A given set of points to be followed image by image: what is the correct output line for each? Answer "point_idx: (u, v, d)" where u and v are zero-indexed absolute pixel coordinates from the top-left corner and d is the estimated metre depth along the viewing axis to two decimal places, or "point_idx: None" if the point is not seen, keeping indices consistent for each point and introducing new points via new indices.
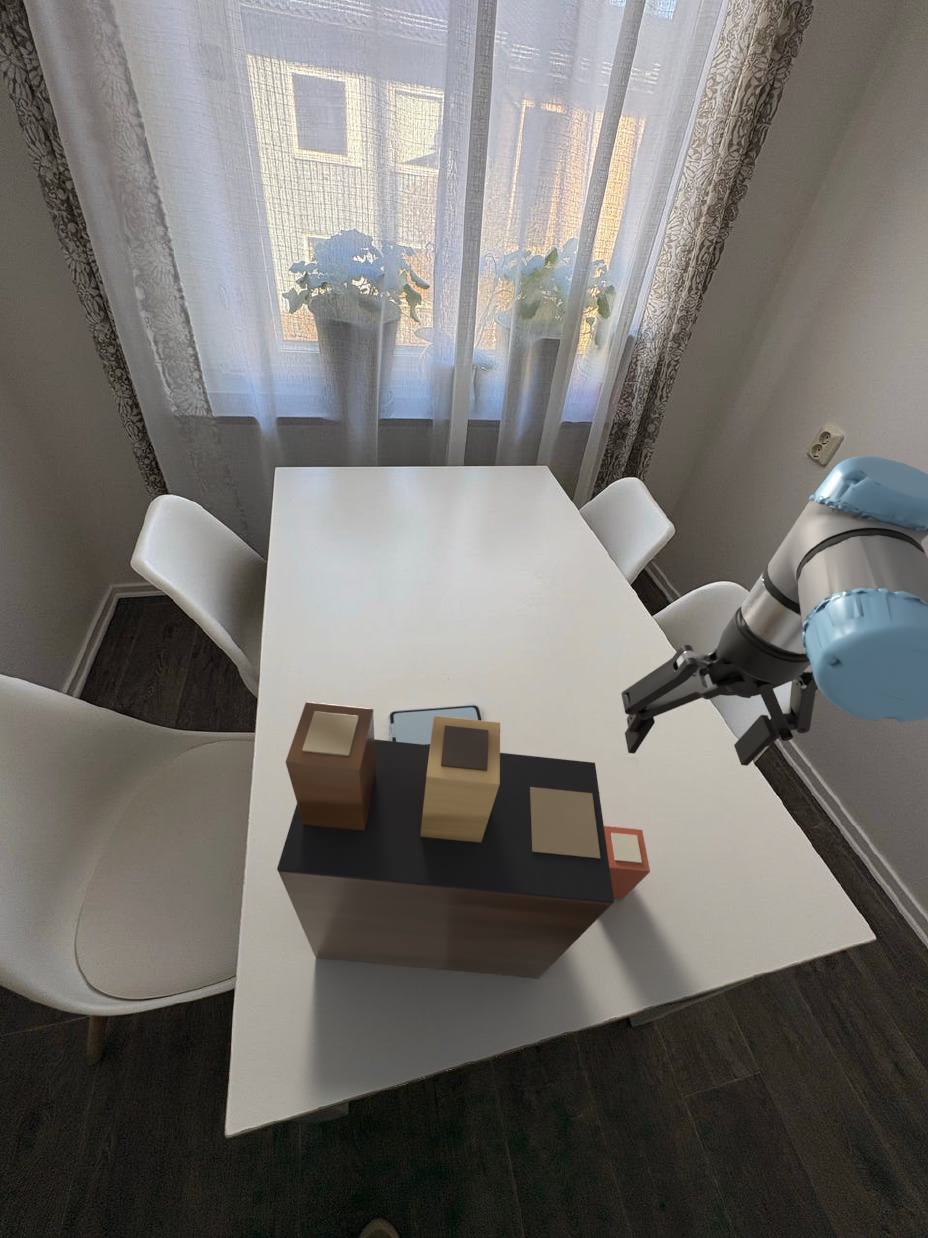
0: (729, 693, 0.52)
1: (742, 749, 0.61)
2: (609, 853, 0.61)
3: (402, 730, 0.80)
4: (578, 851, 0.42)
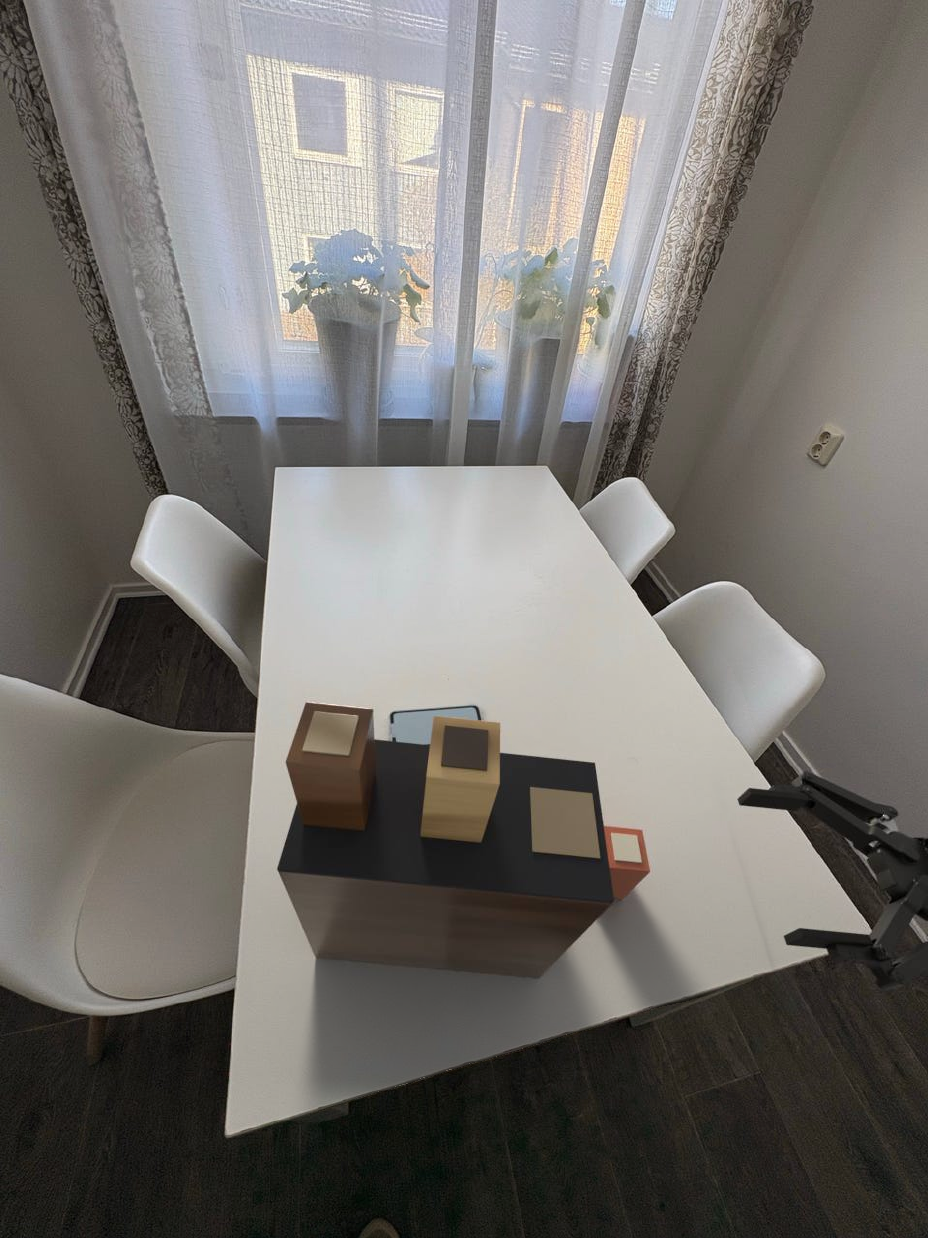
0: (887, 859, 0.52)
1: None
2: (609, 853, 0.61)
3: (402, 730, 0.80)
4: (578, 851, 0.42)
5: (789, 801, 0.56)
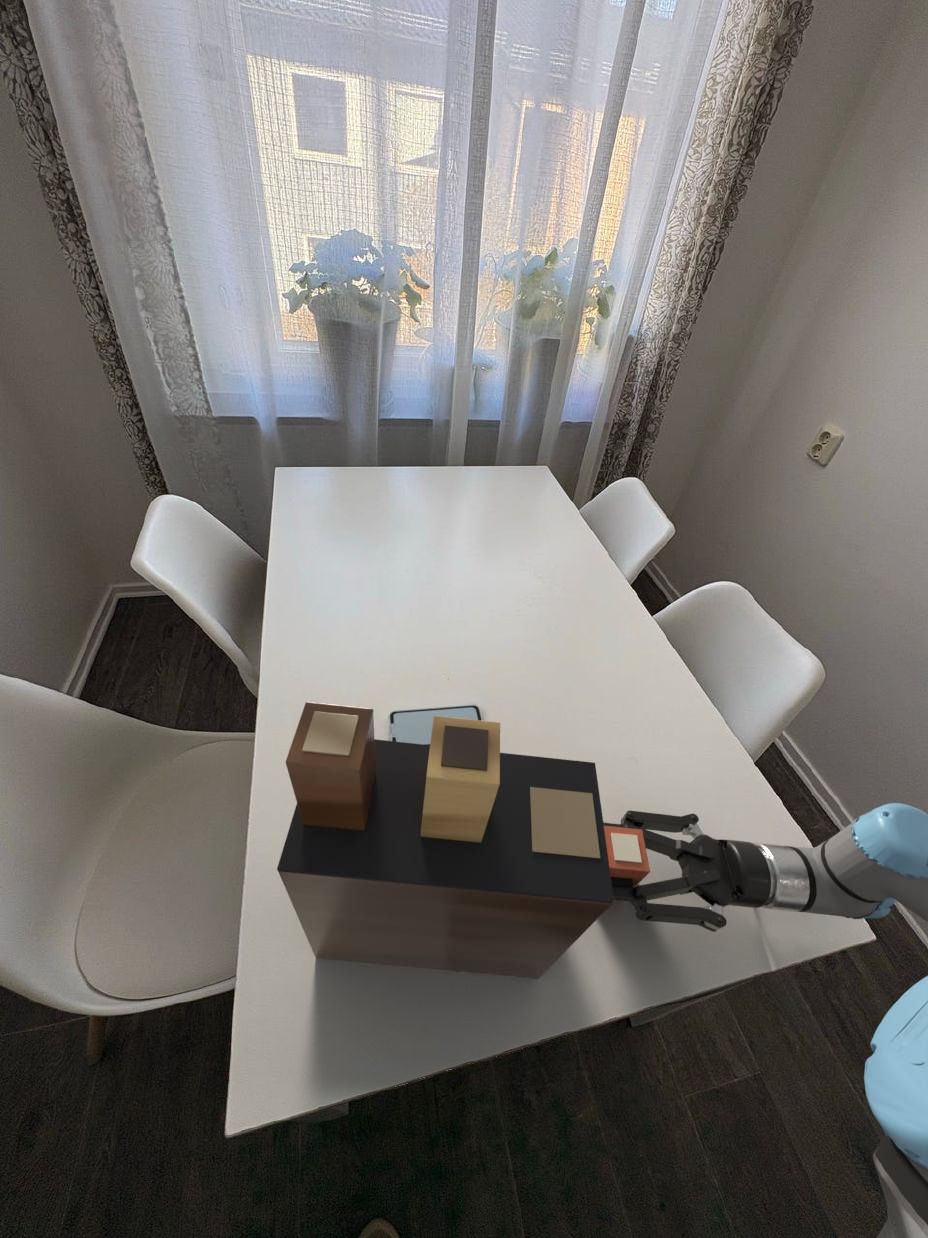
0: (688, 857, 0.64)
1: None
2: (609, 853, 0.61)
3: (402, 730, 0.80)
4: (578, 851, 0.42)
5: None
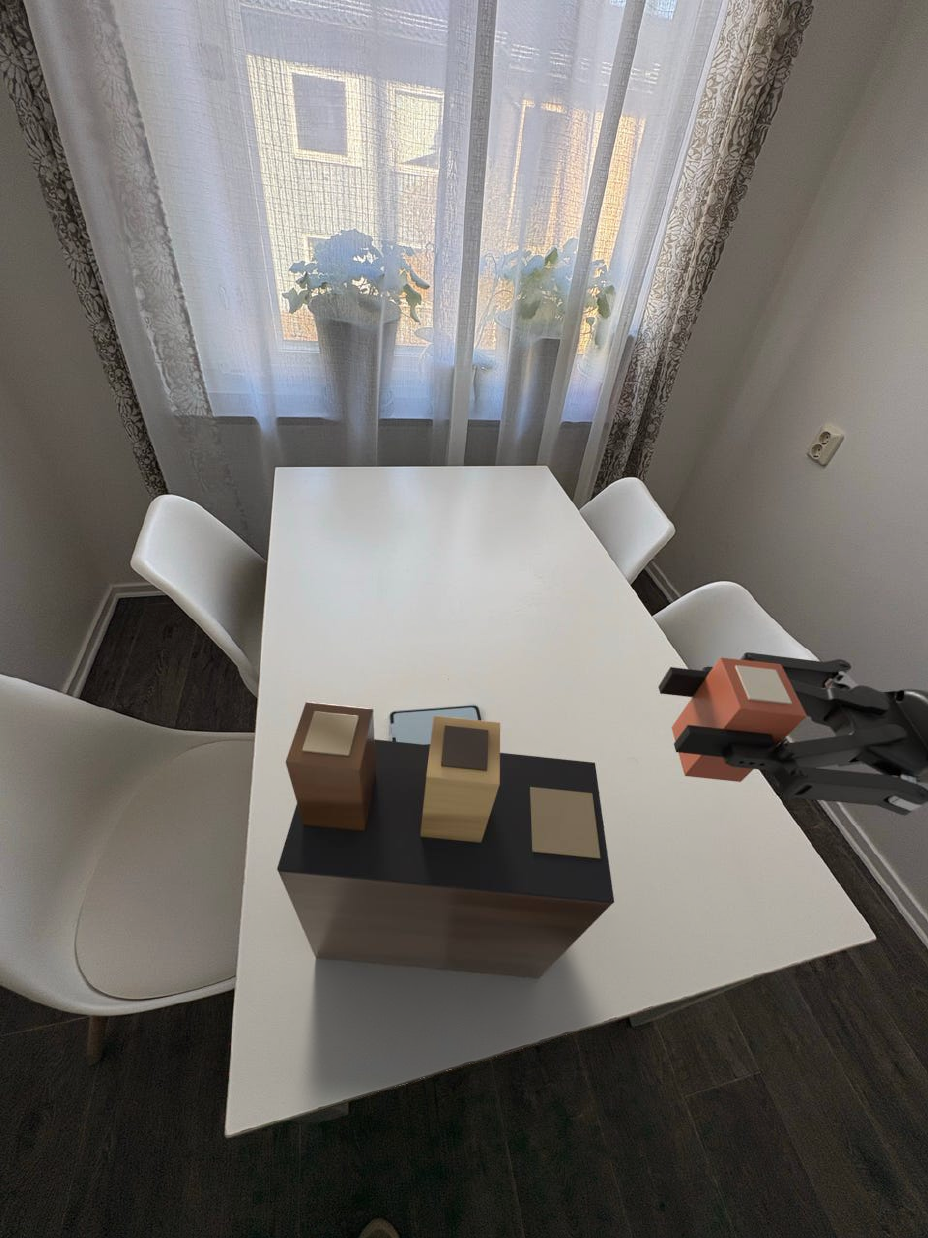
0: (848, 711, 0.42)
1: None
2: (738, 690, 0.38)
3: (402, 730, 0.80)
4: (578, 851, 0.42)
5: None
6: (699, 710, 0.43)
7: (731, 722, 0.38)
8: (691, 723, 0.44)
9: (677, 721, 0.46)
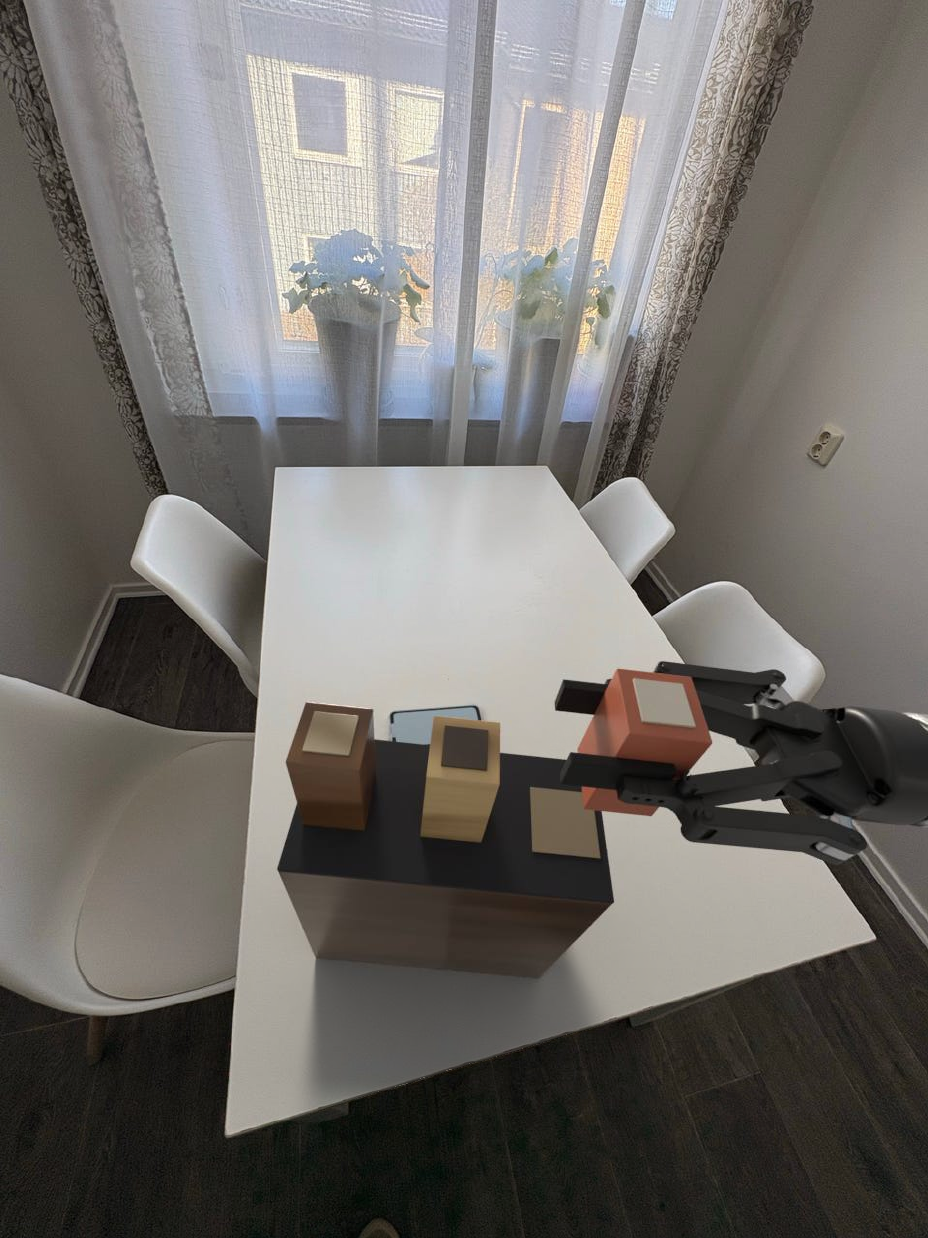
0: (776, 734, 0.34)
1: None
2: (631, 710, 0.31)
3: (402, 730, 0.80)
4: (578, 851, 0.42)
5: None
6: (598, 731, 0.36)
7: (623, 749, 0.31)
8: (591, 746, 0.37)
9: (581, 742, 0.39)
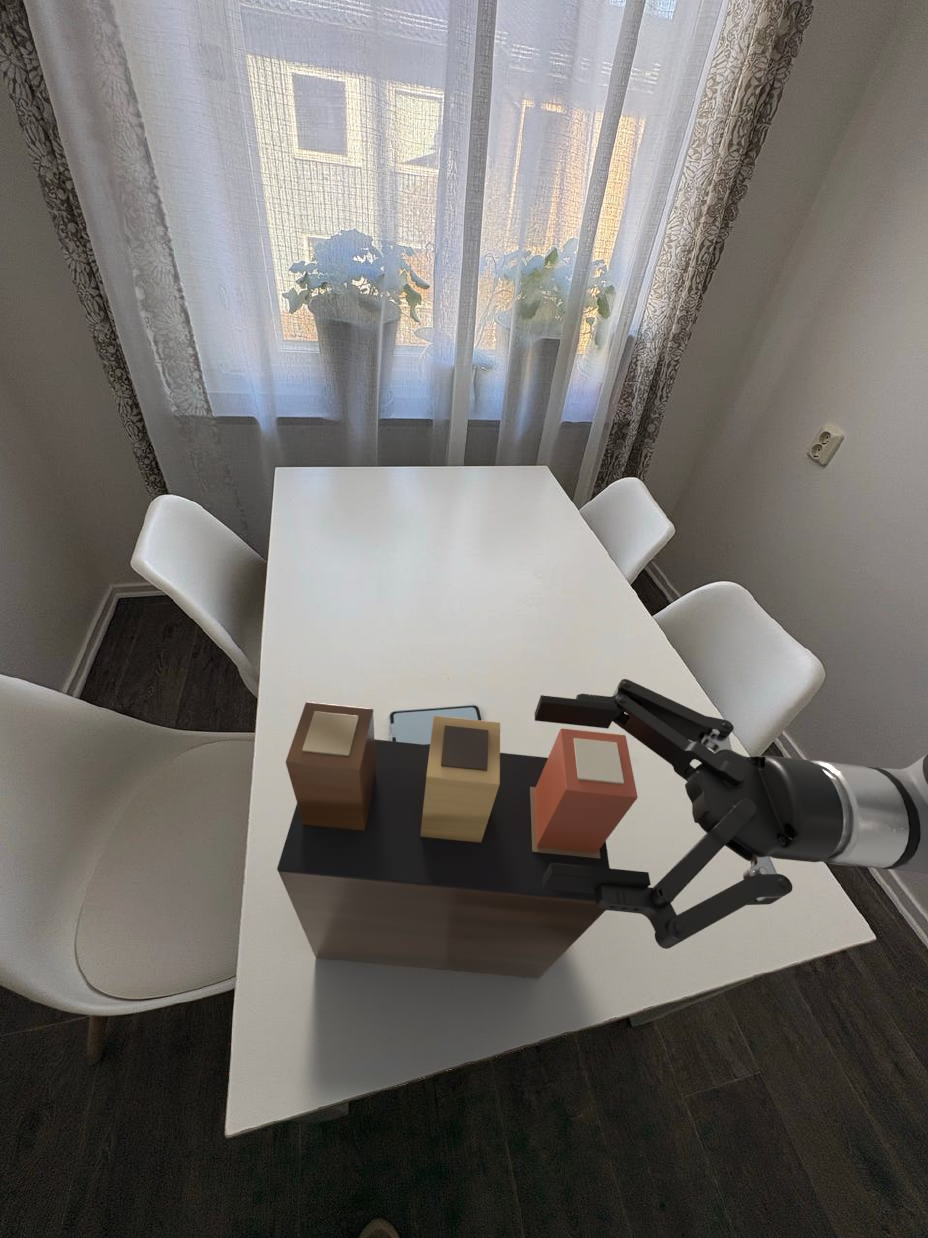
0: (703, 781, 0.39)
1: None
2: (569, 768, 0.36)
3: (402, 730, 0.80)
4: (578, 851, 0.42)
5: (593, 713, 0.43)
6: (547, 780, 0.41)
7: (562, 801, 0.36)
8: (543, 792, 0.42)
9: (537, 786, 0.44)
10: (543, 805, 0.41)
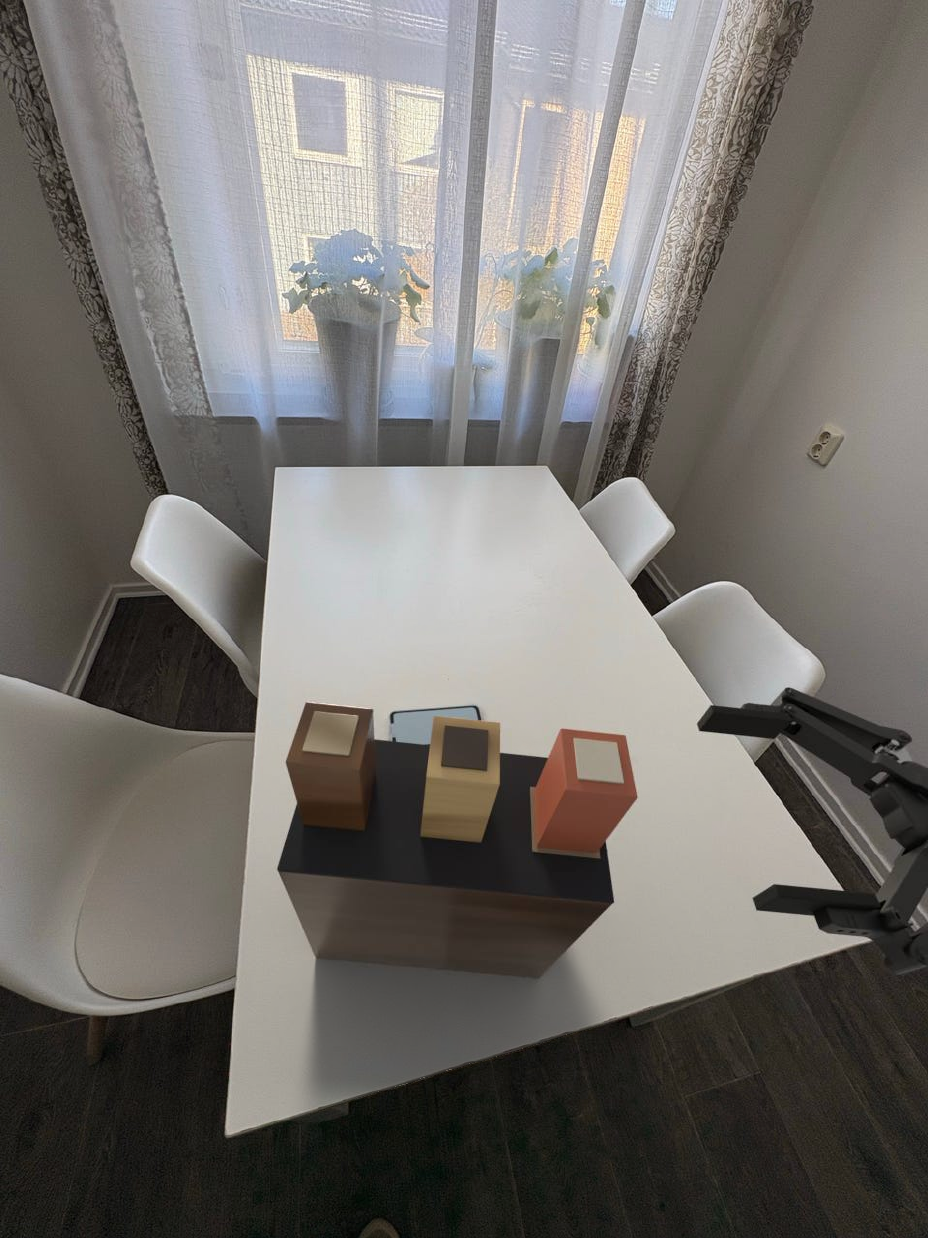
0: (898, 795, 0.38)
1: None
2: (569, 768, 0.36)
3: (402, 730, 0.80)
4: (578, 851, 0.42)
5: (765, 723, 0.42)
6: (547, 780, 0.41)
7: (562, 801, 0.36)
8: (543, 792, 0.42)
9: (537, 786, 0.44)
10: (543, 805, 0.41)
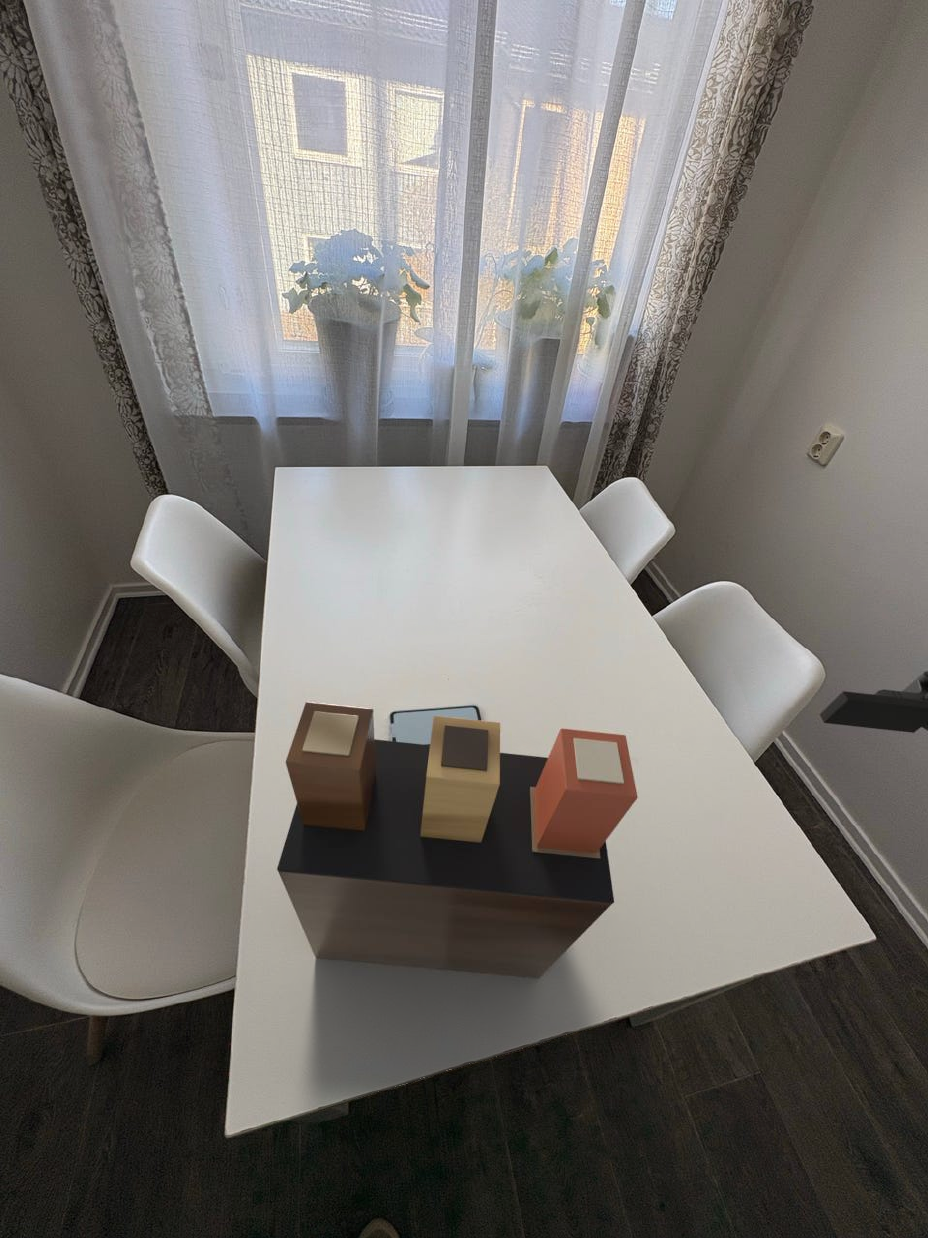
0: None
1: None
2: (569, 768, 0.36)
3: (402, 730, 0.80)
4: (578, 851, 0.42)
5: (908, 713, 0.35)
6: (547, 780, 0.41)
7: (562, 801, 0.36)
8: (543, 792, 0.42)
9: (537, 786, 0.44)
10: (543, 805, 0.41)
